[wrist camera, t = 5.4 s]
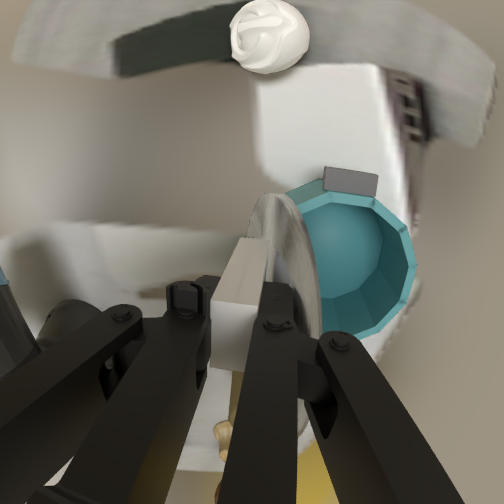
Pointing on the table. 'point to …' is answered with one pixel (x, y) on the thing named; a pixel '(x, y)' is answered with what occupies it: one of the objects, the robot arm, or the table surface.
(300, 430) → the lid
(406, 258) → the pot
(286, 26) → the white swirled ball
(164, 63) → the table surface
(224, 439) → the hand bell
